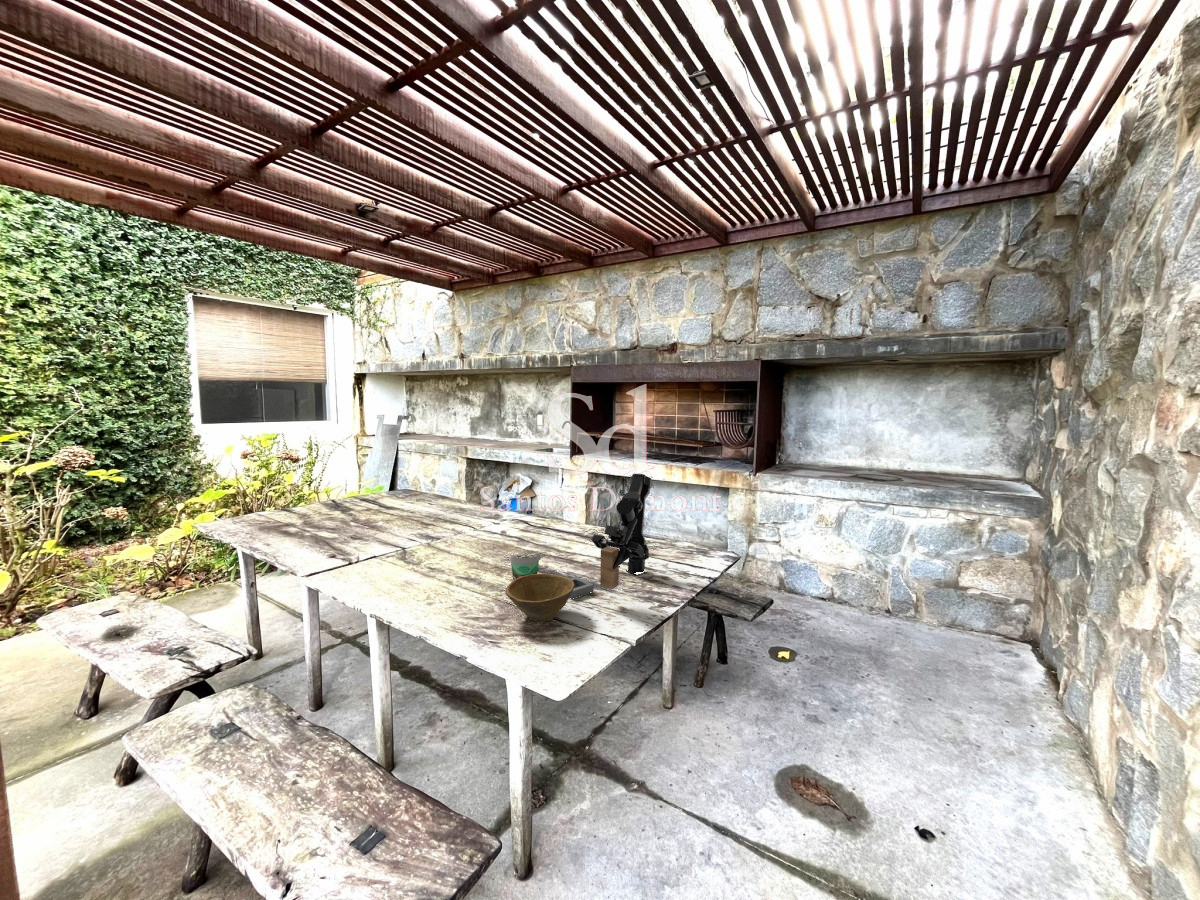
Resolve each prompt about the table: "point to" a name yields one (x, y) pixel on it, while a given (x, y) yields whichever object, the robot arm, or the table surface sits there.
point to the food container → (524, 565)
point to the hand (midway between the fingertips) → (607, 567)
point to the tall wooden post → (609, 568)
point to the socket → (581, 587)
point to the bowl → (540, 595)
